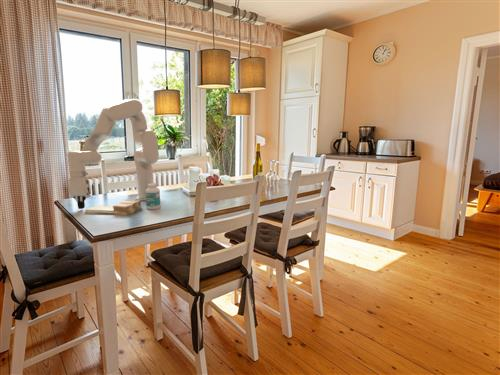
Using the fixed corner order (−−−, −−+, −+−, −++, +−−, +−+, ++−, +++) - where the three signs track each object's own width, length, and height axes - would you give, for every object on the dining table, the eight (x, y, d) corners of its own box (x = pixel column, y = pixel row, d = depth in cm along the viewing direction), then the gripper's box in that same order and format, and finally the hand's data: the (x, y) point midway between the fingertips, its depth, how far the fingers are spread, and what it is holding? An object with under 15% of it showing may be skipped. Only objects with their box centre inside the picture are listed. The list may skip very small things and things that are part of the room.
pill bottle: (143, 209, 167) (141, 184, 165) (152, 206, 174) (150, 182, 171) (154, 210, 165) (153, 185, 162) (163, 207, 171) (162, 183, 169)
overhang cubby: (100, 207, 172) (99, 199, 171) (141, 208, 170) (140, 200, 169) (84, 214, 158) (83, 205, 157) (128, 215, 156) (128, 206, 155)
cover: (95, 209, 170) (95, 205, 169) (121, 209, 168) (121, 206, 168) (85, 213, 161) (85, 210, 160) (113, 214, 160) (112, 210, 159)
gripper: (95, 173, 165) (98, 206, 168) (69, 173, 166) (73, 206, 170) (86, 175, 158) (90, 210, 161) (59, 175, 159) (63, 209, 163)
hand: (81, 208), depth 165 cm, fingers closed
